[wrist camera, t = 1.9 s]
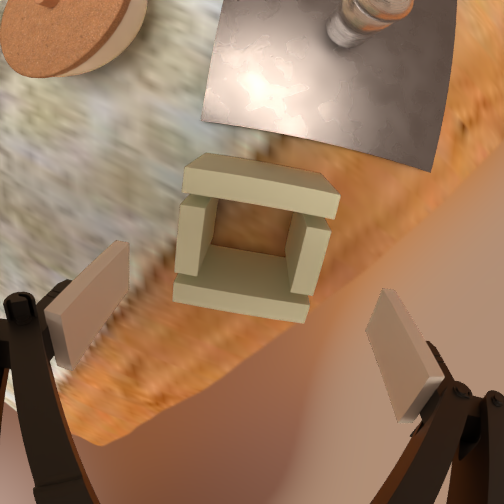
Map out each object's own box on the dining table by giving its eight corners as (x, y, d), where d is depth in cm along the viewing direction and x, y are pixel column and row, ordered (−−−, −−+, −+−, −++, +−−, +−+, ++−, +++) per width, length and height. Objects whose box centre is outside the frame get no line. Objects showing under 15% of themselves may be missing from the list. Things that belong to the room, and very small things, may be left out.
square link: (192, 257, 28) (172, 301, 21) (206, 152, 24) (184, 167, 18) (296, 275, 28) (304, 323, 22) (321, 173, 24) (340, 195, 18)
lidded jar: (62, -14, 17) (-1, -39, 9) (171, -39, 17) (131, -92, 9) (51, 90, 22) (-22, 93, 13) (161, 74, 22) (107, 58, 13)
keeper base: (204, 120, 23) (158, 125, 13) (245, -71, 16) (234, -150, 6) (422, 169, 24) (503, 208, 14) (449, -13, 16) (522, -49, 6)
